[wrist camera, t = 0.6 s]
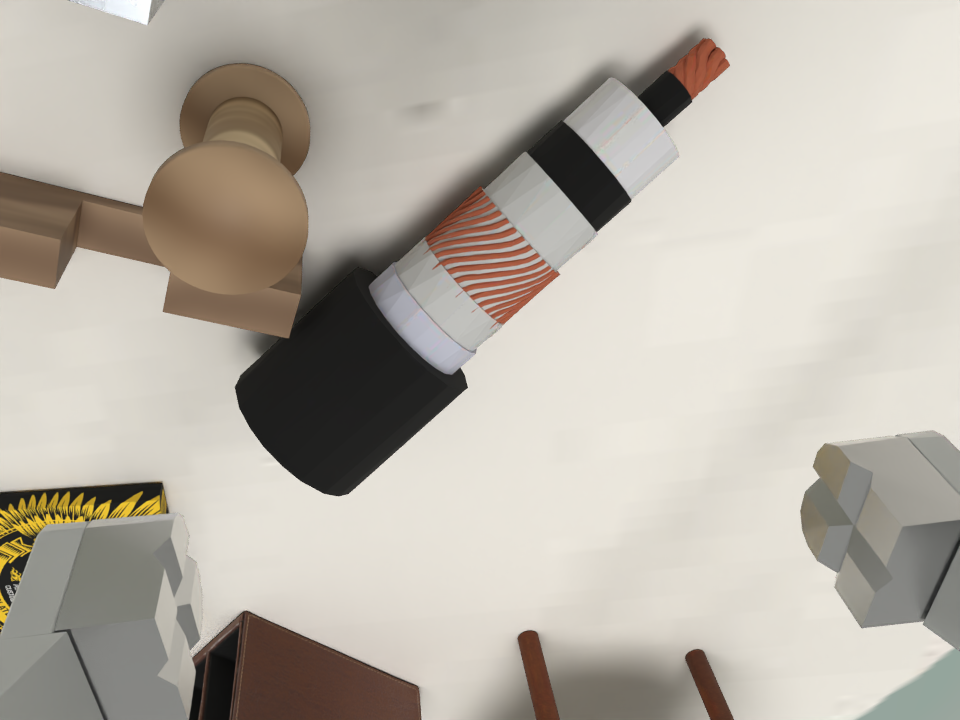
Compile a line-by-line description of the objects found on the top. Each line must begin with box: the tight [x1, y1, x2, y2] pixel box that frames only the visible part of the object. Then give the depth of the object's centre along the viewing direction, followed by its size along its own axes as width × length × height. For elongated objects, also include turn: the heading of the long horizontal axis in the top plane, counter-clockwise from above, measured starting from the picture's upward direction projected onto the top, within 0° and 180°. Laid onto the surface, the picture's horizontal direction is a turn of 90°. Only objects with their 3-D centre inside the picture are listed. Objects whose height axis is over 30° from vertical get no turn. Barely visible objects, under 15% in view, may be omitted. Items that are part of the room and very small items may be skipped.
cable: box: [235, 38, 730, 496], centre depth 50 cm, size 10×34×10 cm, turn 127°
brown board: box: [0, 172, 302, 338], centre depth 47 cm, size 3×20×6 cm, turn 70°
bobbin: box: [142, 63, 310, 295], centre depth 42 cm, size 7×7×13 cm
